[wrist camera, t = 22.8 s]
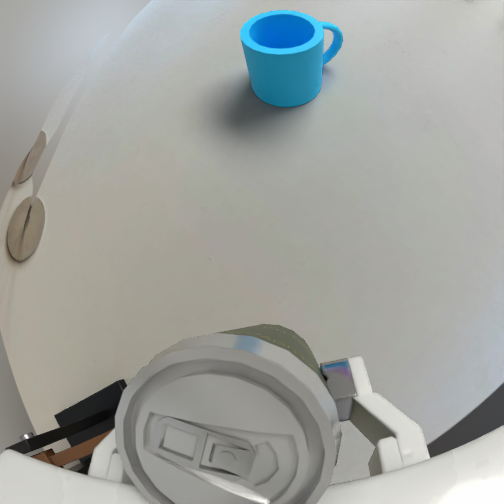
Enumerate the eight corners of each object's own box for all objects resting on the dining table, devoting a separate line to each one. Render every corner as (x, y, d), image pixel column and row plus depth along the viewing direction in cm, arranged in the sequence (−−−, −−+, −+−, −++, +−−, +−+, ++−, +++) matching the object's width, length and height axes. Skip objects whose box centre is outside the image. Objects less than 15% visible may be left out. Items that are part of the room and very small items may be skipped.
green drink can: (214, 398, 17) (99, 492, 5) (234, 314, 18) (127, 303, 6) (301, 420, 16) (302, 558, 4) (325, 334, 17) (381, 367, 5)
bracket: (123, 378, 27) (35, 402, 15) (169, 452, 25) (102, 512, 13) (60, 413, 27) (-19, 434, 15) (98, 476, 25) (30, 518, 13)
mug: (275, 118, 31) (267, 65, 23) (239, 76, 33) (225, 27, 25) (360, 79, 31) (369, 29, 23) (319, 43, 33) (320, -4, 25)
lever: (143, 400, 23) (141, 400, 20) (162, 431, 22) (163, 435, 20) (28, 451, 17) (15, 455, 14) (46, 481, 16) (35, 489, 13)
